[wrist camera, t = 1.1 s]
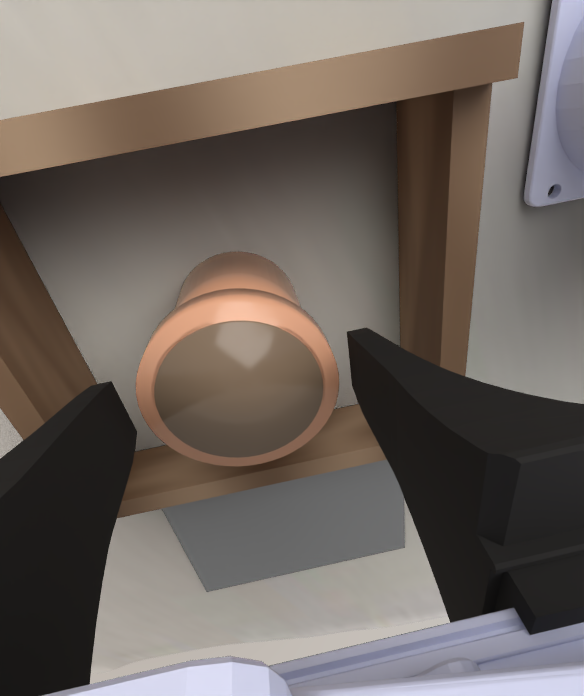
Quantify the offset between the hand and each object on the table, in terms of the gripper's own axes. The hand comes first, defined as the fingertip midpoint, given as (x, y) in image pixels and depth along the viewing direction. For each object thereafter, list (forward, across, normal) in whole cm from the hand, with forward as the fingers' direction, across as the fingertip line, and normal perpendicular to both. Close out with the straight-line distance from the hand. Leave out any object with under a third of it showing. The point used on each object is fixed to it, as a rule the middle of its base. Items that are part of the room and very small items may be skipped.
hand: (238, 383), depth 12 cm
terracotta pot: (+5, 0, 0) cm, 5 cm away
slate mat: (+5, 0, +15) cm, 16 cm away
